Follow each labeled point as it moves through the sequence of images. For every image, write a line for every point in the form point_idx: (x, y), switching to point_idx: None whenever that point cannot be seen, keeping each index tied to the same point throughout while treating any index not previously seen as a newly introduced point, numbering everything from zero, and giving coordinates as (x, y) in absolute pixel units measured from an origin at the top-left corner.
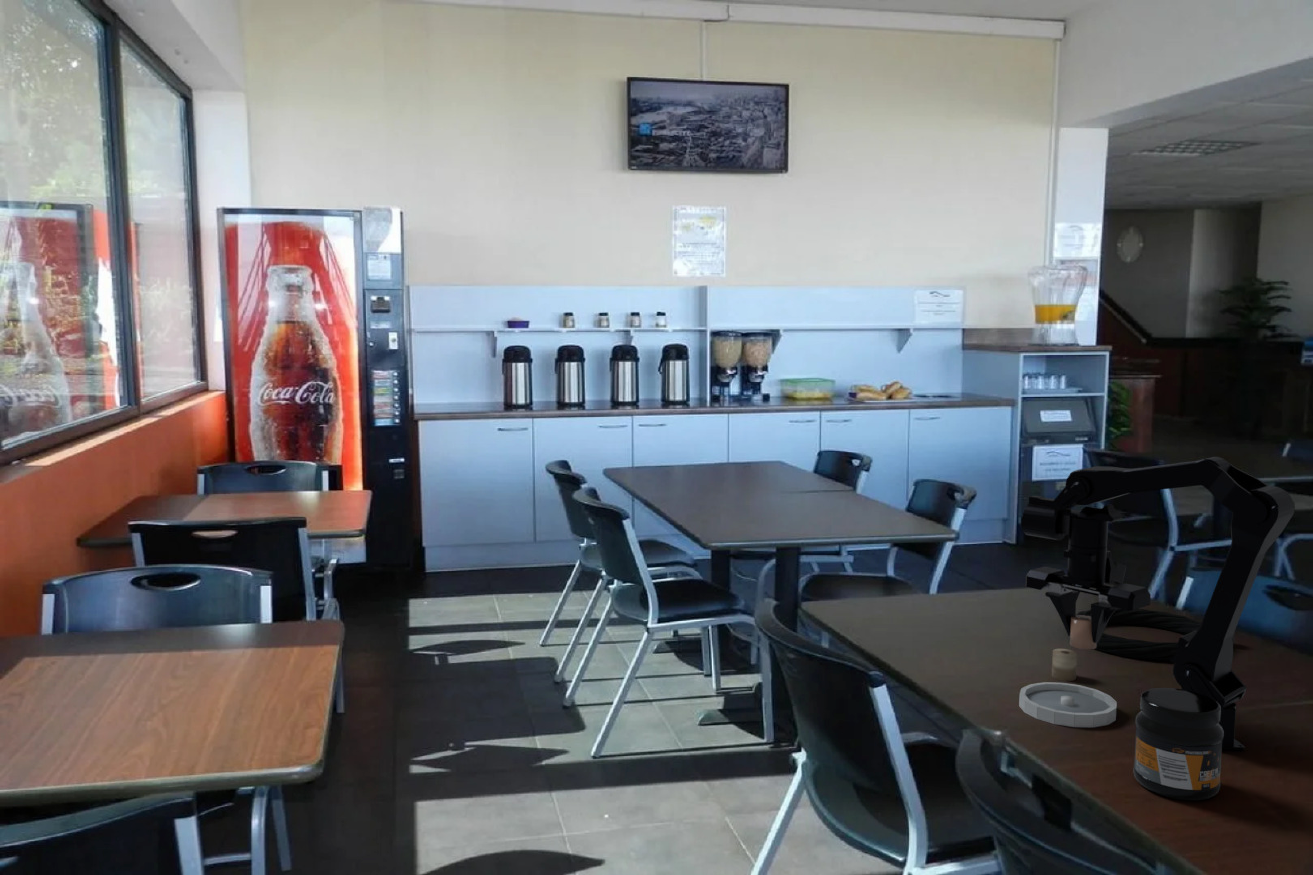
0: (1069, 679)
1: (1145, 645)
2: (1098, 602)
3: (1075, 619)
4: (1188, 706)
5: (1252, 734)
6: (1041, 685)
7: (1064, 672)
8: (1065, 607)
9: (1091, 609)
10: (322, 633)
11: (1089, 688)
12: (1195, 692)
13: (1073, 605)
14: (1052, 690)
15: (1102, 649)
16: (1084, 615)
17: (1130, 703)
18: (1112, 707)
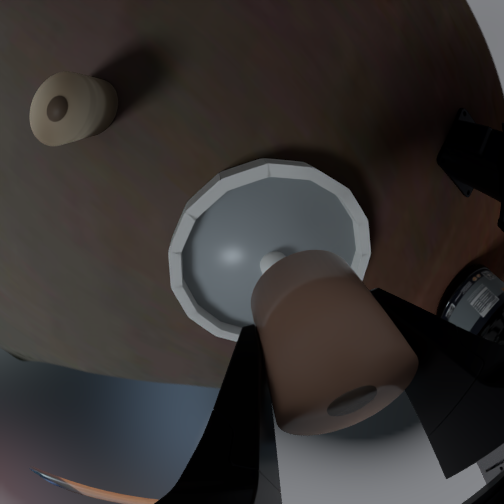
0: (115, 111)
1: None
2: (476, 461)
3: (330, 429)
4: None
5: (470, 74)
6: (181, 266)
7: (102, 124)
8: (278, 488)
9: (440, 458)
10: (45, 472)
11: (252, 174)
12: None
13: (263, 472)
14: (191, 236)
15: None
16: (315, 381)
17: (308, 93)
18: (362, 224)
